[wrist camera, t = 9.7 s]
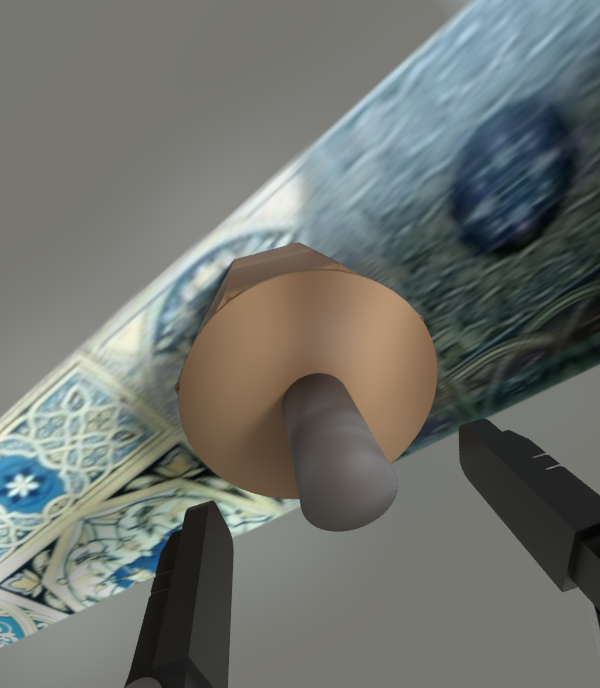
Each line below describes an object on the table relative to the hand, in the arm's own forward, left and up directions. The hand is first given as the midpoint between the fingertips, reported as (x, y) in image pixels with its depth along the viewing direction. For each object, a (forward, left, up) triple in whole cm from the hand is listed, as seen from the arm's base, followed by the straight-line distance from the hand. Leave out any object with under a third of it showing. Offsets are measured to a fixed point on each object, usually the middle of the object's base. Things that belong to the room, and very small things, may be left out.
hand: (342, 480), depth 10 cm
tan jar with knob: (0, 0, -15) cm, 15 cm away
